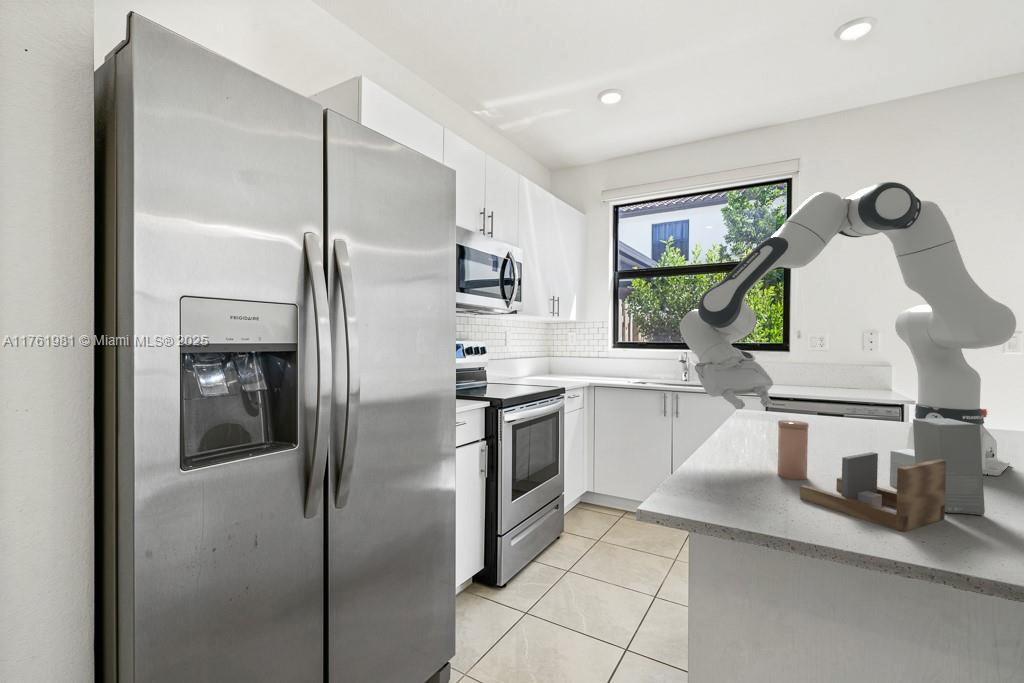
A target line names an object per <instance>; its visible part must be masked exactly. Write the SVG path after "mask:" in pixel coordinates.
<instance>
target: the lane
mask: <svg viewBox="0 0 1024 683" xmlns="http://www.w3.org/2000/svg"><path fill="white" fill-rule="evenodd" d="M945 481H946V460H941V459H937V460H932V461H927V462H923V463H918V464H913V465H908V466H904V467H899V468H897V487H896V491H893V490H891V489H885V488H882V487H878V486H877V494H880V495H882V505H887V506H889V507H894V508H896V511H894V510H891V509H887V508H884V507H882V508H881V507H878V506H874V505H871V504H868V503H864V502H861V501H857V500H854V499H851V498H847V497H844V496H841V495H840V494H836V493H834V492H830V491H827V490H823V489H819V488H817V487H813V486H809V485H806V484H803V485H800V486H799V499H801V500H803V501H806V500H807V502H809V501H810V503H812V502H813V504H815V503H816V504H815V505H819V506H822V507H826V508H827V509H831V510H833V511H834V510H835V511H838V512H840V513H843V514H847V515H850V516H853V517H856V518H860V519H862V520H865V521H868V522H871V523H875V524H877V525H881V526H883V527H887V528H890V529H893V530H897V531H899V532H902V533H904V532H907V531H910V530H912V529H917V528H920V527H922V526H923V527H924V526H926V525H929V524H932V523H936V522H939V521H942V520H944V519H945V514H946V512H945ZM836 491H837V492H841V493H842V477H836Z"/></svg>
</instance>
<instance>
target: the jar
mask: <svg viewBox="0 0 1024 683" xmlns="http://www.w3.org/2000/svg"><path fill="white" fill-rule="evenodd" d="M777 426H778V428H777V429H778V431H777V432H778V433H777V434H778V435H777V436H778V440H777V444H778V445H777V476H779V478H780V477H781V478H783V479H788V480H795V481H805V480H807V479H808V453H809V452H808V449H809V448H808V446H809V444H808V443H809V442H808V441H809V423H808V422H806V421H805V422H804V421H801V420H793V419H791V420H789V419H786V420H785V419H781V420H778V421H777Z"/></svg>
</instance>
